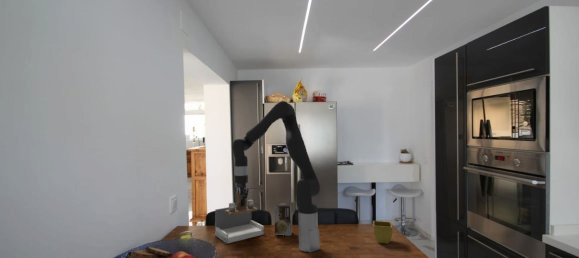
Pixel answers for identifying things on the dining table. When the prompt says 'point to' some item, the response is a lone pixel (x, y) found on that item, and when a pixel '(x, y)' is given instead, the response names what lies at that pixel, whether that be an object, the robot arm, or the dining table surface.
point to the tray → (239, 208)
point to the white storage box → (235, 226)
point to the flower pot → (382, 231)
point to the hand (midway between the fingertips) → (241, 205)
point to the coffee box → (283, 219)
